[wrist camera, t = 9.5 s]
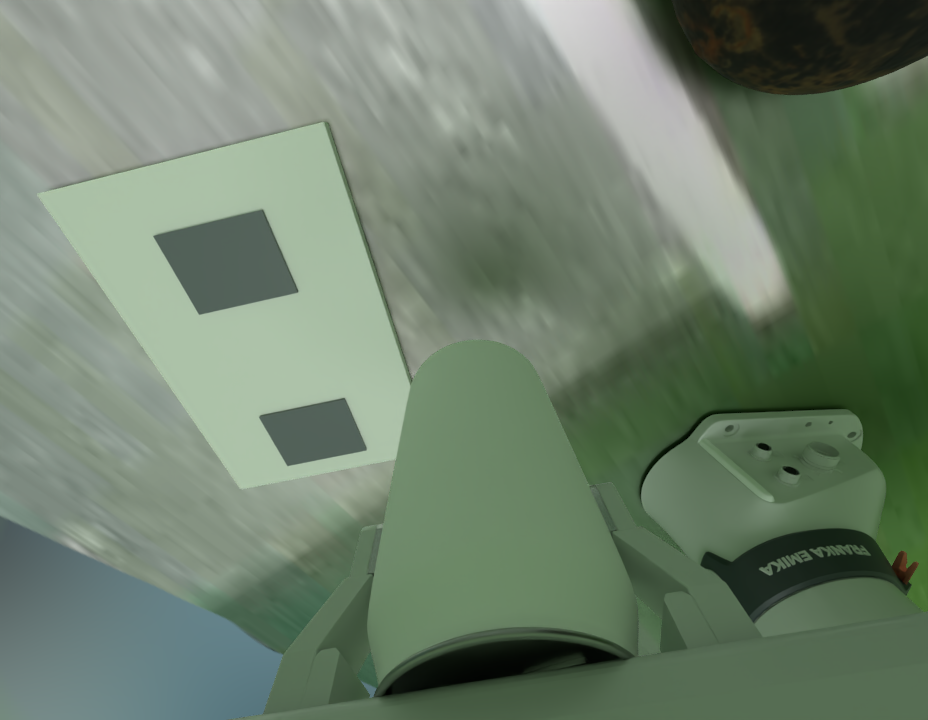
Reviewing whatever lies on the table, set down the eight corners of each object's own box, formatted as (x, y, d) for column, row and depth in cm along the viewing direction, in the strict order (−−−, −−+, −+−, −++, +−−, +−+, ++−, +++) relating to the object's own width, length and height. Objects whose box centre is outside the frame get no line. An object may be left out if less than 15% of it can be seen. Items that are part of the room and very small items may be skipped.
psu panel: (328, 123, 24) (322, 121, 23) (432, 445, 37) (432, 454, 36) (50, 193, 25) (32, 194, 24) (245, 482, 38) (239, 491, 37)
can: (386, 364, 17) (278, 677, 6) (517, 314, 16) (650, 580, 5) (440, 462, 20) (429, 796, 9) (555, 424, 19) (692, 744, 8)
